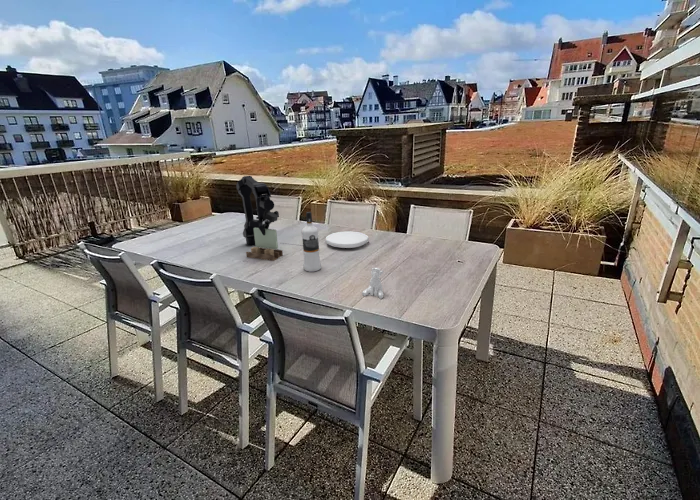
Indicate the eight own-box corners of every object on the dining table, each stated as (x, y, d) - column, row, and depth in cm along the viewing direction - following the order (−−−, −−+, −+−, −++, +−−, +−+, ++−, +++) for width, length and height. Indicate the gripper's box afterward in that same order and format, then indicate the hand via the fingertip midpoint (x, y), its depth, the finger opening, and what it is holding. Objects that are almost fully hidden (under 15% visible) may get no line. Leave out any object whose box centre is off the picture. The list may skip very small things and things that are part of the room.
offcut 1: (251, 256, 196) (250, 248, 194) (255, 255, 198) (254, 246, 197) (257, 257, 194) (256, 249, 193) (260, 255, 197) (259, 247, 195)
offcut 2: (265, 258, 193) (264, 250, 191) (268, 256, 195) (267, 248, 194) (271, 259, 191) (270, 250, 190) (274, 257, 194) (273, 249, 192)
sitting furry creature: (361, 296, 150) (360, 270, 146) (367, 287, 158) (367, 263, 154) (382, 299, 147) (382, 273, 143) (387, 290, 155) (388, 265, 150)
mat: (270, 249, 209) (270, 249, 209) (280, 243, 220) (280, 242, 220) (296, 252, 203) (296, 252, 203) (306, 246, 213) (306, 245, 213)
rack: (246, 258, 196) (246, 252, 195) (256, 253, 204) (255, 247, 202) (274, 262, 190) (273, 255, 188) (282, 256, 197) (282, 250, 196)
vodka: (320, 264, 185) (316, 209, 175) (322, 271, 177) (319, 213, 167) (302, 266, 183) (298, 210, 173) (304, 273, 175) (300, 215, 165)
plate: (331, 229, 231) (371, 230, 226) (332, 238, 233) (371, 240, 227) (320, 237, 204) (364, 239, 199) (320, 248, 206) (364, 250, 201)
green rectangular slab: (255, 246, 199) (253, 228, 195) (257, 245, 200) (255, 227, 196) (276, 249, 194) (274, 230, 190) (278, 248, 195) (276, 229, 192)
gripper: (264, 212, 178) (267, 241, 183) (284, 204, 194) (286, 231, 200) (246, 210, 182) (250, 239, 187) (267, 203, 198) (270, 229, 204)
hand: (265, 234), depth 194 cm, fingers closed on green rectangular slab, 2 cm apart
